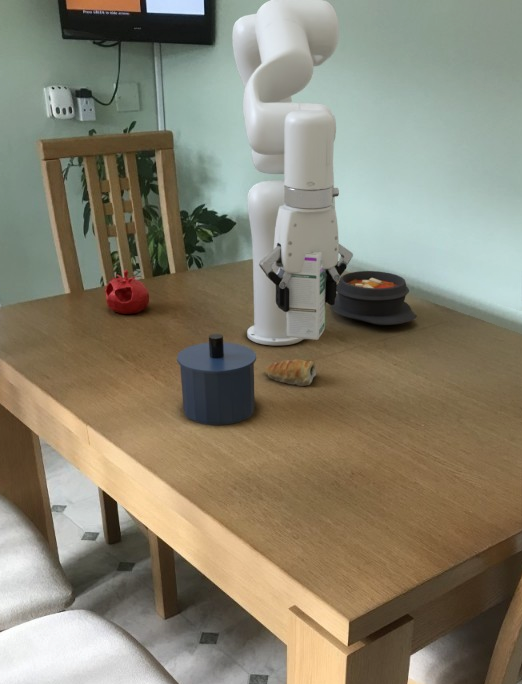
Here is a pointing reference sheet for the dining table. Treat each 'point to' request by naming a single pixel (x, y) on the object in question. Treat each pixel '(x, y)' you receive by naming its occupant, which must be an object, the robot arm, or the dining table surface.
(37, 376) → the dining table surface
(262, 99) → the robot arm
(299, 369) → the pastry
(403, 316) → the casserole
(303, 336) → the syrup box
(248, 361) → the lid
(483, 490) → the dining table surface
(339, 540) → the dining table surface
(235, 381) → the pot
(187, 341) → the dining table surface
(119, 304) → the pomegranate
